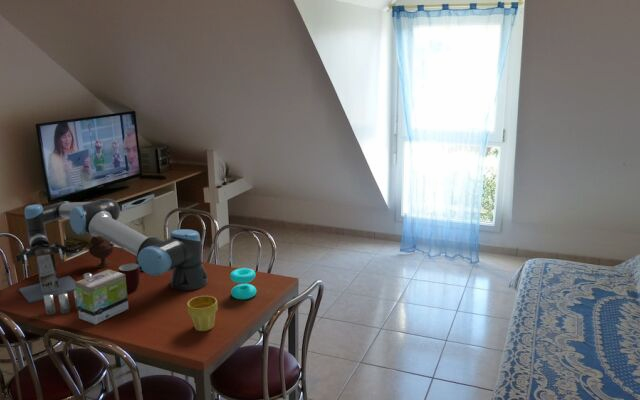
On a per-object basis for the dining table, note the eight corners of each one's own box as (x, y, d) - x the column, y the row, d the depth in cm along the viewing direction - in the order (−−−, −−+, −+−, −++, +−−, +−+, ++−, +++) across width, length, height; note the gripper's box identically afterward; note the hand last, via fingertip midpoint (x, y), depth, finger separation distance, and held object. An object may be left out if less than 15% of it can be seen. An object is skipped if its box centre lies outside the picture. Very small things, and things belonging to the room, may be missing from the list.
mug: (124, 297, 229) (121, 274, 226) (111, 293, 233) (108, 270, 230) (145, 288, 237) (143, 265, 234) (133, 284, 241) (130, 261, 239)
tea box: (96, 325, 207) (91, 287, 203) (78, 319, 212) (73, 281, 208) (129, 309, 219) (125, 273, 215) (112, 303, 224) (107, 267, 220)
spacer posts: (106, 301, 226) (104, 284, 224) (49, 317, 213) (47, 300, 211) (92, 287, 238) (90, 272, 237) (37, 303, 225) (34, 286, 224)
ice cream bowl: (111, 270, 256) (107, 238, 252) (86, 270, 257) (82, 239, 253) (120, 261, 267) (116, 230, 263) (96, 261, 267) (92, 231, 263)
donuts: (257, 275, 223) (231, 278, 221) (258, 298, 226) (232, 301, 224) (253, 265, 233) (228, 268, 230) (254, 288, 235) (230, 291, 233)
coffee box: (59, 290, 235) (54, 253, 230) (42, 293, 232) (36, 256, 227) (56, 282, 242) (51, 246, 238) (40, 286, 239) (34, 249, 235)
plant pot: (186, 334, 199) (184, 308, 197) (192, 320, 209) (190, 295, 207) (216, 333, 199) (214, 308, 197) (221, 319, 209) (219, 295, 207)
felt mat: (81, 288, 238) (81, 287, 237) (29, 303, 225) (29, 301, 225) (69, 277, 250) (69, 275, 249) (19, 290, 237) (18, 288, 237)
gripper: (70, 247, 265) (77, 262, 248) (9, 258, 254) (12, 274, 236) (68, 231, 263) (75, 245, 246) (7, 241, 251) (9, 256, 234)
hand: (44, 259), depth 241 cm, fingers open, 13 cm apart
